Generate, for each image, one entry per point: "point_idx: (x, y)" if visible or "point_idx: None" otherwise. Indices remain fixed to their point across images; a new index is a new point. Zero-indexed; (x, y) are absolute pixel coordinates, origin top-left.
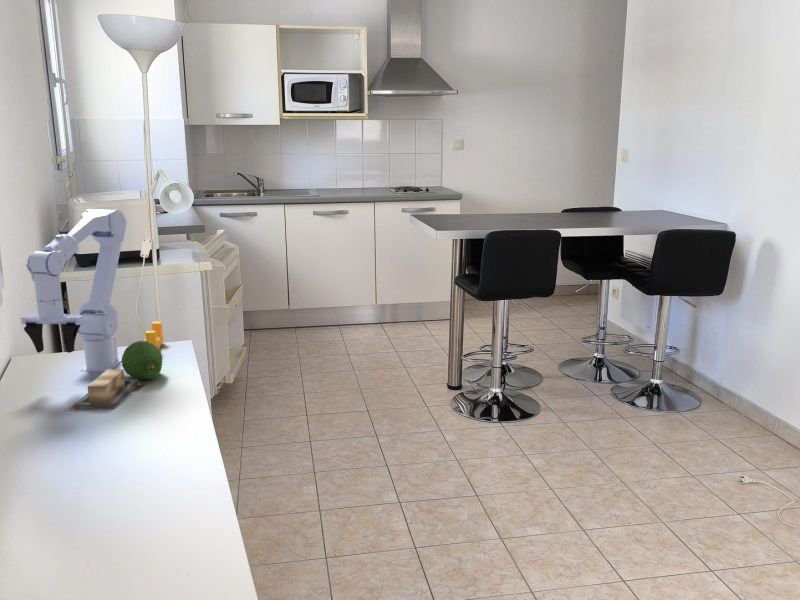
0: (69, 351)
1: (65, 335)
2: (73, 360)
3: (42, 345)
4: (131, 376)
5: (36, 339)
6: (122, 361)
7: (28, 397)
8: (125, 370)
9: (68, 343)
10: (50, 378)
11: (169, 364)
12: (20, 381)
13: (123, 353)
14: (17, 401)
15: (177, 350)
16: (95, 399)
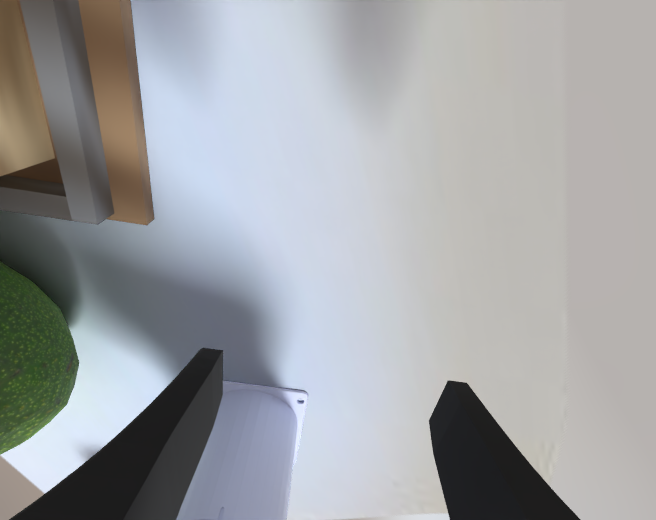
0: (200, 354)
1: (112, 514)
2: (359, 467)
3: (441, 455)
4: (18, 275)
5: (508, 501)
6: (6, 339)
7: (452, 120)
8: (13, 291)
9: (158, 412)
10: (398, 341)
11: None
12: (511, 328)
13: (10, 400)
14: (504, 60)
15: None
16: None
